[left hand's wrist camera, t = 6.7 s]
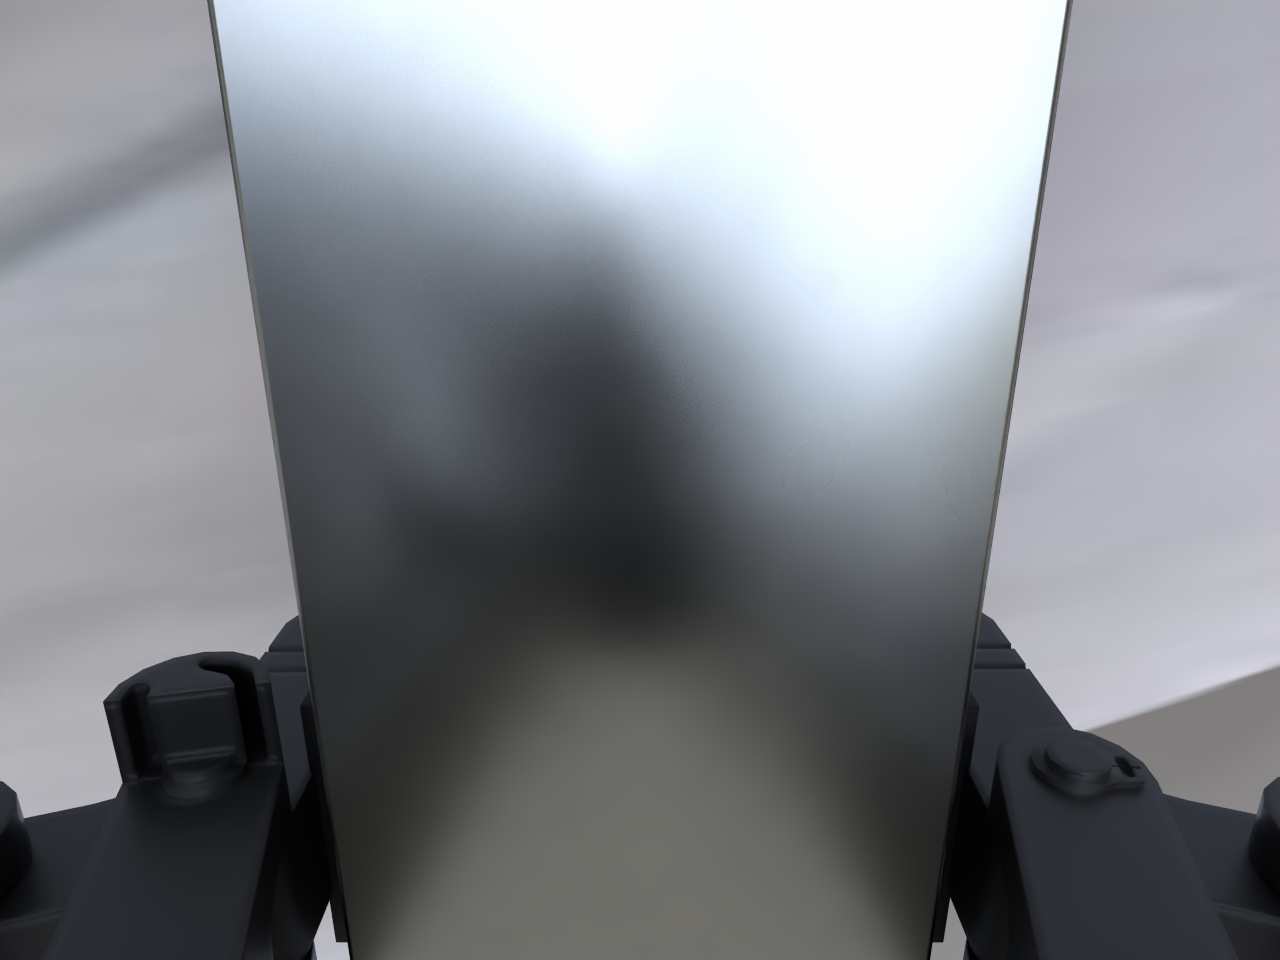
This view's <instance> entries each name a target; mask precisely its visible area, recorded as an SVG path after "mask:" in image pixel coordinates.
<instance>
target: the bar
mask: <svg viewBox="0 0 1280 960" xmlns="http://www.w3.org/2000/svg"><path fill="white" fill-rule="evenodd" d="M207 2H208V9H209V16H210V23H211V29H212V36H213V43H214V49H215V56H216V63H217V70H218V76H219V83H220V90H221V96H222V103H223V110H224V116H225V123H226V130H227V137H228V143H229V150H230V157H231V163H232V170H233V177H234V184H235V190H236V197H237V204H238V210H239V217H240V224H241V231H242V237H243V244H244V251H245V257H246V264H247V271H248V278H249V284H250V291H251V298H252V304H253V311H254V318H255V325H256V331H257V338H258V345H259V351H260V358H261V365H262V371H263V378H264V385H265V392H266V398H267V405H268V412H269V418H270V425H271V432H272V439H273V445H274V452H275V459H276V465H277V472H278V479H279V486H280V492H281V499H282V506H283V512H284V519H285V526H286V533H287V539H288V546H289V553H290V559H291V566H292V573H293V579H294V586H295V593H296V600H297V606H298V613H299V620H300V626H301V633H302V640H303V647H304V653H305V660H306V667H307V673H308V680H309V687H310V694H311V700H312V707H313V714H314V720H315V727H316V734H317V741H318V747H319V754H320V761H321V767H322V774H323V781H324V788H325V794H326V801H327V808H328V814H329V821H330V828H331V834H332V841H333V848H334V855H335V861H336V868H337V875H338V881H339V888H340V895H341V902H342V908H343V915H344V922H345V928H346V935H347V942H348V949H349V955H350V960H930V956H931V949H932V943H933V936H934V929H935V923H936V916H937V909H938V903H939V896H940V889H941V882H942V876H943V869H944V862H945V856H946V849H947V842H948V835H949V829H950V822H951V815H952V809H953V802H954V795H955V788H956V782H957V775H958V768H959V762H960V755H961V748H962V741H963V735H964V728H965V721H966V715H967V708H968V701H969V694H970V688H971V681H972V674H973V668H974V661H975V654H976V647H977V641H978V634H979V627H980V621H981V614H982V607H983V601H984V594H985V587H986V580H987V574H988V567H989V560H990V554H991V547H992V540H993V533H994V527H995V520H996V513H997V507H998V500H999V493H1000V486H1001V480H1002V473H1003V466H1004V460H1005V453H1006V446H1007V439H1008V433H1009V426H1010V419H1011V413H1012V406H1013V399H1014V392H1015V386H1016V379H1017V372H1018V366H1019V359H1020V352H1021V345H1022V339H1023V332H1024V325H1025V319H1026V312H1027V305H1028V298H1029V292H1030V285H1031V278H1032V272H1033V265H1034V258H1035V251H1036V245H1037V238H1038V231H1039V225H1040V218H1041V211H1042V204H1043V198H1044V191H1045V184H1046V178H1047V171H1048V164H1049V157H1050V151H1051V144H1052V137H1053V131H1054V124H1055V117H1056V110H1057V104H1058V97H1059V90H1060V84H1061V77H1062V70H1063V64H1064V57H1065V50H1066V43H1067V37H1068V30H1069V23H1070V17H1071V10H1072V3H1073V0H207Z"/></svg>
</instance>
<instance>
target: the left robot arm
mask: <svg viewBox="0 0 1280 960" xmlns="http://www.w3.org/2000/svg"><path fill="white" fill-rule="evenodd" d="M103 704H104V708H105V712H106V716H107V720H108V724H109V728H110V732H111V736H112V741H113V745H114V749H115V753H116V757H117V761H118V765H119V769H120V773H121V778H122V782H123V783H122V785H121V788H120V790H119V792H118V794H117V796H116V798H114V799H110V800H106V801H103V802H99V803H95V804H91V805H87V806H82V807H77V808H72V809H67V810H62V811H58V812H53V813H48V814H43V815H38V816H34V817H29V818H23V814H22V811H21V807H20V804H19V801H18V797H17V794H16V792H15V791H13V790H12V789H11V788H10V787H9V786H7V785H6V784H5V783H4V782H2V781H0V960H317V957H316V951H315V945H314V937H315V935H316V932H317V930H318V927H319V925H320V923H321V920H322V918H323V915H324V913H325V910H326V908H327V905H328V903H329V900H330V906H331V912H332V919H333V925H334V931H335V938H336V942H347V935H346V928H345V922H344V915H343V908H342V902H341V895H340V888H339V881H338V875H337V868H336V861H335V855H334V848H333V841H332V834H331V828H330V821H329V814H328V808H327V801H326V794H325V788H324V781H323V774H322V767H321V761H320V754H319V747H318V741H317V734H316V727H315V720H314V714H313V707H312V700H311V694H310V687H309V680H308V673H307V667H306V660H305V653H304V647H303V640H302V633H301V626H300V620H299V615H298V616H296V617H295V618H293V619H292V620H290V621H289V622H287V623H286V624H285V626H284V627H283V628H282V630H281V631H280V632H279V634H278V635H277V637H276V638H275V639H274V641H273V642H272V644H271V645H270V646H269V652H265V653H264V655H263V656H262V657H261V659H260V660H258V659H257V658H256V657H254V656H250V655H245V654H241V653H237V652H202V653H197V654H192V655H187V656H182V657H176V658H172V659H170V660H167V661H164V662H162V663H159V664H156V665H154V666H151V667H148V668H146V669H143V670H142V671H140V672H138V673H137V674H135V675H133V676H132V677H130V678H129V679H127V680H125V681H124V682H122V683H120V684H119V685H118V686H117V687H116V688H115V689H114V690H113V691H112V693H111V694H110V695H109V696H108V697H107V698H106V699H105V700H104V701H103ZM950 897H951V900H952V902H953V905H954V907H955V910H956V912H957V914H958V917H959V920H960V922H961V924H962V927H963V929H964V932H965V934H966V937H967V939H966V945H965V951H964V958H963V960H1280V777H1278V778H1276V779H1275V780H1274V781H1273V782H1272V783H1270V784H1269V785H1268V786H1267V787H1265V788H1264V791H1263V794H1262V798H1261V801H1260V805H1259V808H1258V812H1257V815H1256V814H1251V813H1247V812H1242V811H1237V810H1232V809H1227V808H1222V807H1217V806H1213V805H1208V804H1203V803H1198V802H1193V801H1188V800H1184V799H1181V798H1177V797H1173V796H1170V795H1166V794H1163V793H1162V790H1161V788H1160V786H1159V784H1158V782H1157V780H1156V779H1155V778H1154V776H1153V775H1152V774H1151V772H1150V771H1149V770H1148V768H1147V767H1146V766H1145V764H1144V763H1143V762H1142V761H1140V760H1139V759H1137V758H1136V757H1134V756H1133V755H1132V754H1130V753H1129V752H1127V751H1126V750H1125V749H1123V748H1122V747H1121V746H1119V745H1117V744H1114V743H1112V742H1110V741H1107V740H1105V739H1103V738H1101V737H1098V736H1096V735H1094V734H1091V733H1087V732H1083V731H1078V730H1074V729H1073V728H1072V727H1071V726H1070V724H1069V723H1068V721H1067V720H1066V719H1065V717H1064V716H1063V715H1062V713H1061V712H1060V711H1059V709H1058V708H1057V706H1056V705H1055V704H1054V702H1053V701H1052V700H1051V698H1050V697H1049V695H1048V694H1047V693H1046V691H1045V690H1044V689H1043V687H1042V686H1041V684H1040V683H1039V682H1038V680H1037V679H1036V678H1035V676H1034V675H1033V674H1032V672H1031V671H1030V669H1026V667H1025V663H1024V661H1023V660H1022V658H1021V657H1020V656H1019V654H1018V653H1017V652H1016V650H1015V649H1011V643H1010V642H1009V641H1008V639H1007V638H1006V637H1005V635H1004V634H1003V632H1002V631H1001V630H1000V628H999V627H998V626H997V624H996V623H995V622H994V620H993V619H991V618H989V617H988V616H986V615H985V614H983V613H982V614H981V621H980V627H979V634H978V641H977V647H976V654H975V661H974V668H973V674H972V681H971V688H970V694H969V701H968V708H967V715H966V721H965V728H964V735H963V741H962V748H961V755H960V762H959V768H958V775H957V782H956V788H955V795H954V802H953V809H952V815H951V822H950V829H949V835H948V842H947V849H946V856H945V862H944V869H943V876H942V882H941V889H940V896H939V903H938V909H937V916H936V923H935V929H934V936H933V942H943V940H944V933H945V927H946V921H947V914H948V908H949V901H950Z"/></svg>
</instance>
